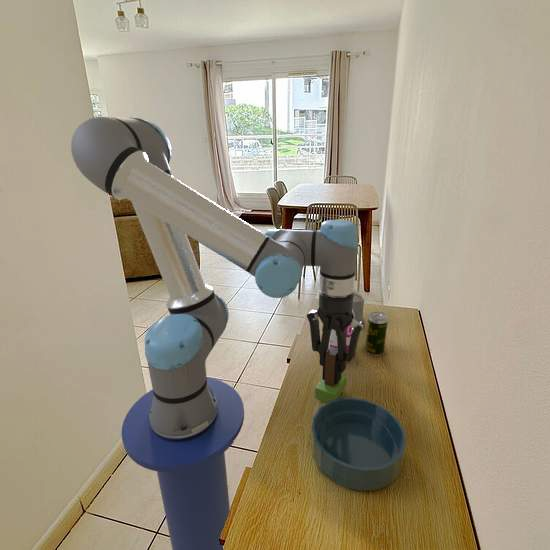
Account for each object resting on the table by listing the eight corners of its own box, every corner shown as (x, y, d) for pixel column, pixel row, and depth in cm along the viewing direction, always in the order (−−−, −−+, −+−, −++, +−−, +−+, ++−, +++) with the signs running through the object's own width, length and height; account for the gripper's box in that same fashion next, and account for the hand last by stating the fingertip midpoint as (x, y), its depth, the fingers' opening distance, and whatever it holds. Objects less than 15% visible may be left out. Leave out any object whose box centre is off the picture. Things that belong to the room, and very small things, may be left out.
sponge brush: (334, 405, 84) (336, 363, 79) (315, 397, 86) (316, 356, 82) (346, 385, 90) (349, 345, 86) (328, 379, 93) (329, 339, 88)
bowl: (295, 465, 70) (296, 443, 68) (331, 407, 85) (332, 387, 82) (388, 511, 62) (392, 487, 59) (410, 438, 76) (414, 417, 74)
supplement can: (356, 354, 104) (361, 309, 99) (339, 366, 99) (343, 319, 93) (334, 343, 110) (337, 300, 104) (317, 354, 105) (319, 309, 99)
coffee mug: (336, 312, 128) (337, 287, 124) (364, 317, 125) (366, 291, 121) (326, 330, 117) (327, 303, 113) (357, 336, 113) (359, 309, 109)
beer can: (372, 344, 109) (376, 309, 105) (387, 351, 105) (392, 316, 101) (361, 350, 106) (364, 315, 102) (376, 358, 102) (380, 322, 98)
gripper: (297, 290, 79) (296, 377, 87) (365, 306, 71) (357, 399, 80) (311, 278, 84) (309, 361, 93) (376, 292, 77) (367, 380, 86)
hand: (331, 378), depth 87 cm, fingers closed on sponge brush, 2 cm apart
